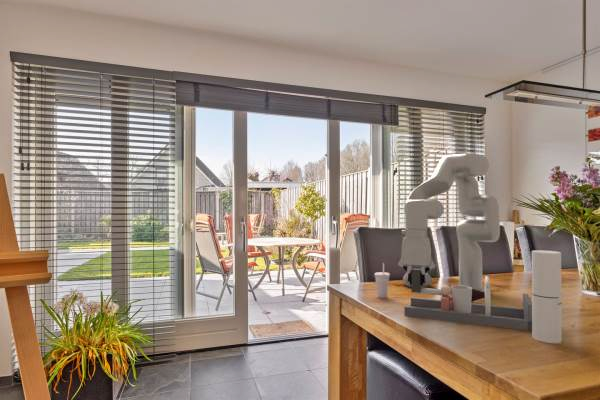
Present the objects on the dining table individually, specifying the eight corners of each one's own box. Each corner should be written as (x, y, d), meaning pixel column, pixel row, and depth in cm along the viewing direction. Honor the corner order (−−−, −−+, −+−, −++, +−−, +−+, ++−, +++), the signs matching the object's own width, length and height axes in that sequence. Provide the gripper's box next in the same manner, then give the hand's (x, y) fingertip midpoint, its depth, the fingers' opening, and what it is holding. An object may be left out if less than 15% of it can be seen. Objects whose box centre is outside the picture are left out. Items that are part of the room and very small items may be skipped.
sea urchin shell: (398, 287, 175) (398, 269, 175) (407, 281, 187) (406, 265, 187) (428, 290, 169) (428, 272, 169) (434, 284, 180) (434, 268, 180)
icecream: (489, 285, 148) (448, 286, 153) (490, 284, 141) (447, 285, 147) (491, 304, 146) (449, 304, 151) (493, 304, 140) (449, 304, 145)
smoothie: (390, 299, 153) (390, 264, 153) (374, 298, 154) (374, 264, 154) (389, 295, 159) (389, 262, 159) (374, 294, 161) (374, 261, 161)
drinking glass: (470, 320, 125) (470, 290, 125) (449, 317, 129) (449, 287, 129) (473, 315, 131) (473, 286, 131) (453, 312, 134) (453, 284, 135)
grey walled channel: (411, 304, 144) (411, 270, 144) (528, 317, 128) (527, 278, 128) (404, 315, 131) (404, 277, 131) (534, 331, 114) (533, 288, 114)
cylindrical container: (526, 334, 112) (525, 250, 112) (549, 334, 112) (548, 250, 112) (544, 343, 104) (543, 253, 105) (568, 342, 105) (567, 253, 105)
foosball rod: (414, 305, 141) (414, 267, 141) (452, 310, 135) (452, 269, 135) (410, 312, 133) (410, 271, 133) (450, 317, 127) (450, 274, 127)
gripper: (391, 233, 137) (391, 284, 137) (439, 235, 130) (439, 288, 129) (395, 232, 143) (395, 280, 143) (441, 233, 136) (441, 284, 136)
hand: (416, 284), depth 136 cm, fingers closed on foosball rod, 3 cm apart
